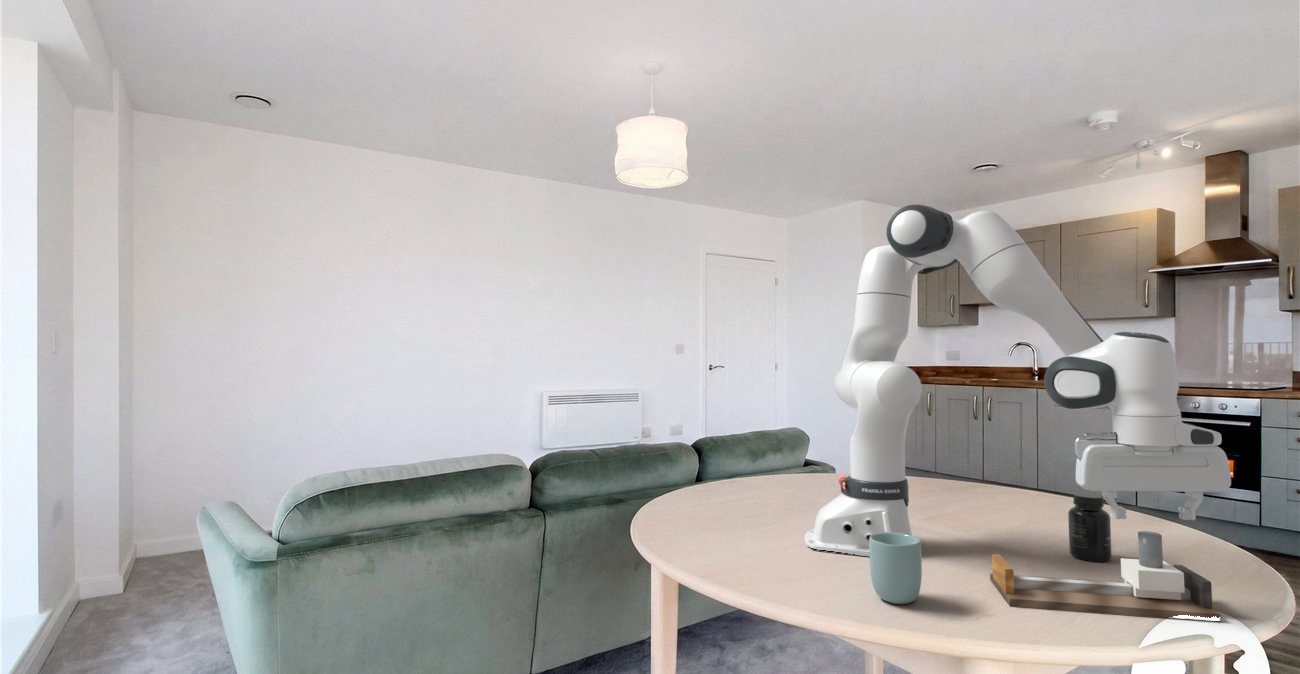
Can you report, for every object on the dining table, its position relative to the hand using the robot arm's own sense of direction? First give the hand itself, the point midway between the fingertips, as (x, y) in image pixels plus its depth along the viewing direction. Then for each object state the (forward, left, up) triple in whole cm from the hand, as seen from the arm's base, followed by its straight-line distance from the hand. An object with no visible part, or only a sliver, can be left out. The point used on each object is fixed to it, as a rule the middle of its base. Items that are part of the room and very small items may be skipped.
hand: (1152, 518), depth 101 cm
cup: (-40, -7, -14) cm, 43 cm away
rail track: (-9, 0, -13) cm, 16 cm away
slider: (-1, 0, -12) cm, 12 cm away
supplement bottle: (-1, +24, -14) cm, 27 cm away
